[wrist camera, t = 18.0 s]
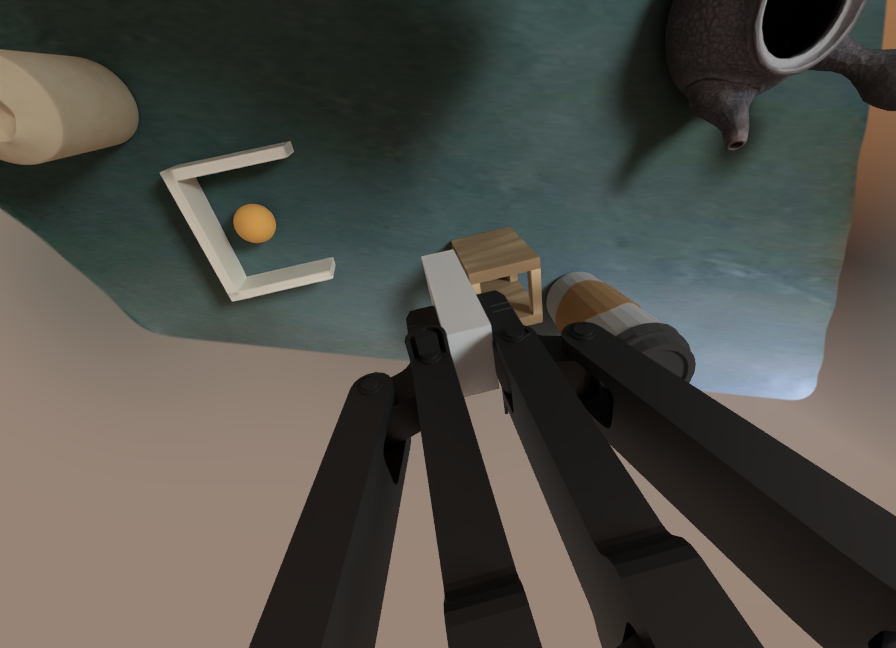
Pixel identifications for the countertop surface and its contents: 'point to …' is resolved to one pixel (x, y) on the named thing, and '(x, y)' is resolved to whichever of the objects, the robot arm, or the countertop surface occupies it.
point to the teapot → (767, 54)
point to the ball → (254, 223)
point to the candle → (60, 107)
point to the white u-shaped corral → (213, 236)
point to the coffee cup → (618, 320)
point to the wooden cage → (503, 269)
